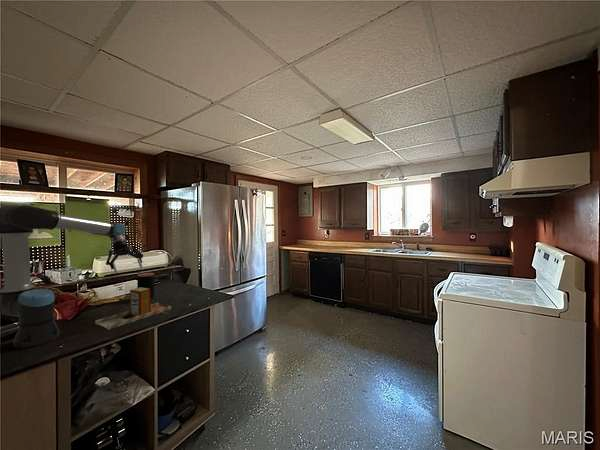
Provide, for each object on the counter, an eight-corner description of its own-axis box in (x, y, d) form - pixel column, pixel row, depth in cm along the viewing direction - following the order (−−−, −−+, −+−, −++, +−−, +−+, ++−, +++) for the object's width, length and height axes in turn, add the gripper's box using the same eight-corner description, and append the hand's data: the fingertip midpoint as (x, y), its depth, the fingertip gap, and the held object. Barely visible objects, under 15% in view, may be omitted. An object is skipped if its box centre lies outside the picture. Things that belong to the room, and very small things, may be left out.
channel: (107, 329, 128) (107, 326, 128) (95, 324, 135) (95, 320, 135) (170, 309, 159) (170, 306, 159) (158, 305, 166) (158, 302, 166)
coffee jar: (149, 295, 189) (149, 272, 189) (157, 297, 184) (157, 273, 183) (134, 299, 180) (134, 274, 180) (142, 301, 174) (141, 276, 174)
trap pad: (155, 313, 152) (155, 312, 152) (145, 310, 157) (145, 309, 157) (169, 308, 160) (169, 308, 160) (159, 305, 165) (159, 305, 165)
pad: (107, 328, 130) (107, 328, 130) (97, 324, 135) (97, 323, 135) (130, 321, 139) (130, 320, 139) (120, 317, 144) (120, 317, 144)
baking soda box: (130, 315, 148) (129, 289, 148) (141, 311, 154) (140, 286, 154) (139, 318, 144) (139, 291, 144) (150, 314, 150) (150, 288, 150)
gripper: (139, 243, 174) (149, 267, 167) (95, 250, 155) (104, 278, 148) (141, 236, 169) (151, 261, 162) (95, 243, 151) (105, 272, 144)
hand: (129, 269), depth 155 cm, fingers open, 13 cm apart
